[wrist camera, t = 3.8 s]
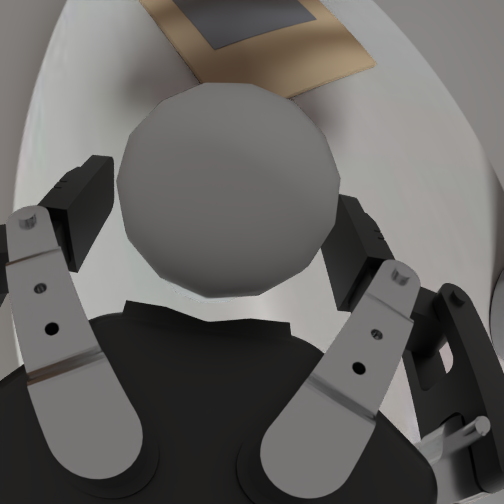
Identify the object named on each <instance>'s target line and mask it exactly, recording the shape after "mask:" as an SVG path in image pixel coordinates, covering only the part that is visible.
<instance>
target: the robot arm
mask: <svg viewBox="0 0 504 504" xmlns="http://www.w3.org/2000/svg"><path fill="white" fill-rule="evenodd" d="M113 203H114V160H113V158H112V157H110V156H99V155H92V156H91V157H90V158H89V159H88V160H87V161H86V162H85V163H84V164H83V165H82V166H81V167H76V168H75V169H73V170H71V171H69V172H67V173H66V174H65V175H64V176H63V177H62V178H61V179H60V180H59V182H57V184H56V185H55V186H54V188H52V189H51V190H50V191H49V192H48V193H47V195H46V196H45V197H44V198H43V199H42V200H41V201H40V203H39V204H38V205H37V206H36V205H35V206H27V207H23V208H21V209H19V210H17V211H15V212H14V213H13V214H11V216H10V217H9V218H8V220H7V222H6V224H4V225H0V307H1V304H2V303H3V301H4V299H5V297H6V295H7V293H9V296H10V302H11V308H12V313H13V318H14V323H15V328H16V333H17V337H18V342H19V346H20V350H21V354H22V358H23V361H24V364H23V365H22V366H20V367H19V368H17V369H16V370H15V371H13V372H12V373H10V374H9V375H8V376H6V377H5V378H4V379H2V380H1V381H0V504H468V503H471V502H474V501H476V500H479V499H481V498H484V497H486V496H488V495H491V494H493V493H495V492H498V491H500V490H502V489H504V373H503V370H502V368H501V365H500V363H499V360H498V358H497V355H496V353H495V350H496V352H497V354H498V355H499V356H500V358H501V359H503V360H504V270H503V271H502V273H501V275H500V277H499V279H498V281H497V284H496V287H495V291H494V295H493V300H492V306H491V336H492V341H493V345H494V348H495V350H494V348H493V346H492V343H491V341H490V339H489V337H488V334H487V332H486V330H485V328H484V326H483V323H482V321H481V319H480V317H479V315H478V313H477V311H476V309H475V307H474V305H473V303H472V301H471V299H470V298H469V296H468V295H467V294H466V293H465V292H464V291H463V290H462V289H461V288H459V287H458V286H456V285H454V284H451V283H445V284H443V285H442V287H441V288H440V289H439V291H438V292H437V293H435V292H433V291H431V290H428V289H426V288H423V287H421V286H420V285H421V283H420V279H419V277H418V275H417V274H416V273H415V272H414V271H413V270H412V269H411V268H410V267H409V266H407V265H406V264H404V263H402V262H400V261H397V260H395V258H394V256H393V254H392V252H391V250H390V248H389V246H388V245H387V243H386V241H385V240H384V237H383V235H382V233H380V229H379V227H378V226H377V224H376V222H375V221H374V220H373V219H372V218H371V217H370V216H369V215H368V214H367V213H365V212H364V210H363V209H362V207H361V205H360V203H359V201H358V199H357V198H355V197H350V196H346V195H342V194H339V196H338V204H337V212H336V220H335V225H334V227H333V228H332V230H331V231H330V233H329V235H328V236H327V238H326V239H325V241H324V242H323V244H322V246H321V250H322V254H323V258H324V261H325V265H326V268H327V272H328V276H329V280H330V283H331V287H332V291H333V295H334V299H335V302H336V306H337V310H338V311H347V312H351V315H350V317H349V319H348V320H347V322H346V323H345V325H344V326H343V328H342V329H341V331H340V332H339V334H338V335H337V337H336V338H335V340H334V341H333V343H332V344H331V346H330V347H329V349H328V350H327V351H326V353H325V354H324V353H323V352H322V351H320V350H319V349H318V348H316V347H315V346H313V345H312V344H310V343H308V342H306V341H304V340H302V339H300V338H297V337H295V336H292V335H291V330H290V323H288V322H278V321H268V320H259V319H251V318H250V319H239V320H227V321H215V322H207V321H203V320H200V319H197V318H195V317H192V316H189V315H186V314H184V313H181V312H178V311H176V310H173V309H170V308H168V307H163V306H157V305H151V304H145V303H139V302H133V301H128V300H126V303H125V306H124V310H123V312H120V313H111V314H106V315H102V316H99V317H96V318H93V319H90V320H88V319H87V317H86V314H85V312H84V310H83V307H82V305H81V302H80V300H79V297H78V295H77V292H76V289H75V287H74V284H73V281H72V279H71V276H70V273H69V271H71V272H76V273H78V271H79V269H80V267H81V265H82V263H83V261H84V259H85V258H86V256H87V254H88V252H89V250H90V248H91V246H92V244H93V243H94V241H95V239H96V237H97V235H98V234H99V232H100V230H101V228H102V226H103V225H104V223H105V221H106V220H107V218H108V216H109V214H110V213H111V210H112V208H113ZM447 341H448V343H449V346H450V349H451V352H452V354H453V365H452V368H451V370H450V371H449V372H448V373H447V374H446V371H445V368H444V364H443V361H442V358H441V355H440V352H439V350H440V349H441V348H442V347H443V346H444V344H445V343H446V342H447ZM401 356H402V358H403V362H404V366H405V370H406V374H407V378H408V382H409V386H410V390H411V395H412V399H413V403H414V408H415V412H416V417H417V422H418V427H419V432H420V437H421V442H420V445H419V449H417V448H416V447H415V446H414V445H413V444H412V443H411V442H410V441H409V440H408V439H407V438H406V437H405V436H404V435H403V434H402V433H401V432H400V431H399V430H398V429H397V428H396V427H395V426H394V425H393V424H392V423H391V422H390V421H389V420H388V419H387V418H386V417H385V416H384V415H383V414H382V413H381V412H380V411H379V410H378V409H379V407H380V405H381V403H382V401H383V399H384V396H385V394H386V392H387V390H388V388H389V385H390V383H391V381H392V378H393V376H394V374H395V371H396V369H397V366H398V364H399V361H400V359H401Z"/></svg>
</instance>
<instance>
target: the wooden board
mask: <svg viewBox="0 0 504 504" xmlns="http://www.w3.org/2000/svg"><path fill="white" fill-rule="evenodd" d="M139 1H140V3H141V4H142V5H143V7H144V8H145V9H146V10H147V12H148V13H149V14H150V16H151V17H152V18H153V19H154V21H155V22H156V23H157V25H158V26H159V27H160V29H161V30H162V31H163V33H164V34H165V35H166V37H167V38H168V39H169V41H170V42H171V43H172V45H173V46H174V47H175V49H176V50H177V51H178V53H179V54H180V55H181V57H182V58H183V59H184V61H185V62H186V64H187V65H188V66H189V68H190V69H191V70H192V72H193V73H194V75H195V76H196V77H197V79H198V80H199V82H200V83H201V84H203V83H244V84H253V85H256V86H258V87H260V88H263V89H265V90H268V91H270V92H272V93H275V94H277V95H279V96H282V97H284V98H286V99H289V98H291V97H294V96H296V95H298V94H301V93H303V92H306V91H308V90H311V89H313V88H316V87H319V86H321V85H324V84H326V83H329V82H332V81H335V80H337V79H340V78H343V77H346V76H348V75H351V74H354V73H357V72H360V71H363V70H366V69H369V68H372V67H374V66H375V65H376V64H377V63H376V62H375V61H374V59H373V58H372V57H371V56H370V55H369V53H368V52H367V51H366V50H365V49H364V48H363V46H362V45H361V44H360V43H359V42H358V41H357V40H356V38H355V37H354V36H353V35H352V34H351V33H350V32H349V31H348V30H347V29H346V28H345V26H344V25H343V24H342V23H341V22H340V21H339V20H338V19H337V18H336V17H335V16H334V15H333V14H332V13H331V12H330V11H329V10H328V9H327V8H326V7H325V6H324V5H323V4H322V3H321V2H320V1H319V0H139Z"/></svg>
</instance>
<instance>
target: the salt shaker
mask: <svg viewBox="0 0 504 504" xmlns="http://www.w3.org/2000/svg"><path fill="white" fill-rule="evenodd" d="M116 182H117V188H118V194H119V200H120V205H121V211H122V216H123V221H124V226H125V231H126V234H127V237H128V240H129V241H130V242H131V243H132V244H133V246H134V247H135V248H136V249H137V251H138V252H139V253H140V254H141V255H142V257H143V258H144V259H145V260H146V261H147V262H148V264H149V265H150V266H151V267H152V268H153V270H154V271H155V272H156V273H157V274H158V275H159V277H160V278H162V279H165V280H166V281H167V282H168V284H169V285H170V286H171V287H172V288H173V289H174V290H175V292H177V293H179V294H181V295H184V296H186V297H188V298H191V299H193V300H195V301H198V302H200V303H213V302H229V301H231V300H233V299H235V298H236V297H243V296H257V295H260V294H262V293H264V292H266V291H268V290H269V289H271V288H273V287H275V286H277V285H278V284H280V283H282V282H284V281H286V280H287V279H289V278H291V277H293V276H295V275H296V274H298V273H300V272H302V271H303V270H304V269H305V268H306V267H308V266H309V264H310V263H311V261H312V260H313V258H314V257H315V255H316V253H317V252H318V250H319V249H320V247H321V246H322V244H323V242H324V241H325V239H326V238H327V236H328V235H329V233H330V231H331V230H332V228H333V227H334V225H335V220H336V212H337V204H338V196H339V187H340V175H339V172H338V170H337V167H336V164H335V161H334V158H333V156H332V153H331V150H330V148H329V145H328V142H327V140H326V137H325V135H324V134H323V133H322V131H321V130H320V129H319V128H318V127H317V126H316V125H315V124H314V123H313V122H312V121H311V119H310V118H309V117H308V116H307V115H306V114H305V113H304V112H303V111H302V110H301V109H300V108H299V107H298V106H297V105H296V104H295V103H294V102H293V101H291V100H289V99H286V98H284V97H282V96H279V95H277V94H275V93H272V92H270V91H268V90H265V89H263V88H260V87H258V86H256V85H253V84H244V83H203V84H201V85H198V86H196V87H193V88H191V89H188V90H186V91H183V92H181V93H179V94H176V95H174V96H172V97H170V98H167V99H165V100H163V101H162V102H161V103H160V104H159V105H158V106H157V107H156V108H155V109H154V110H153V111H152V112H151V113H150V114H149V115H148V116H147V117H146V118H145V119H144V120H143V121H142V122H141V123H140V124H139V125H138V126H137V127H136V129H135V130H134V131H133V132H132V133H131V134H130V135H129V139H128V142H127V145H126V148H125V152H124V155H123V159H122V162H121V166H120V169H119V173H118V177H117V181H116Z"/></svg>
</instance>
